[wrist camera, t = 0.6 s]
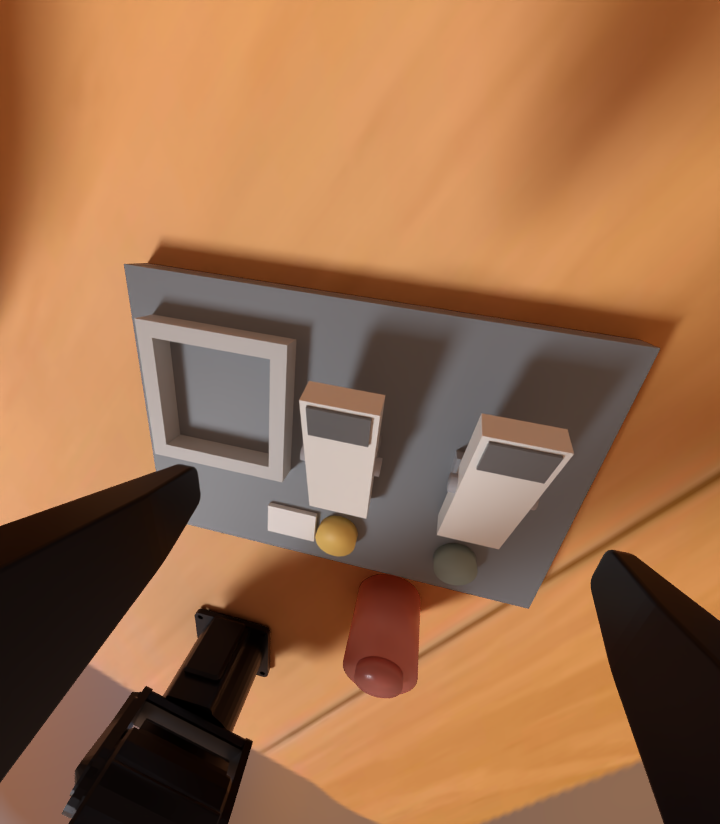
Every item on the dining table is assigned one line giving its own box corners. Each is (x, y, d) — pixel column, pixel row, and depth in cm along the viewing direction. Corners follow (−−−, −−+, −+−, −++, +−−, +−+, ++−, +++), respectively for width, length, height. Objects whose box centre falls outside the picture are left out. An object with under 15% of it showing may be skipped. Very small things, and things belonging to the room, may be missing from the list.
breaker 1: (375, 500, 20) (371, 522, 19) (311, 486, 20) (303, 506, 19) (392, 396, 14) (387, 420, 13) (301, 379, 14) (290, 401, 14)
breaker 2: (503, 529, 19) (504, 553, 18) (432, 513, 19) (430, 536, 18) (575, 430, 13) (583, 458, 12) (473, 411, 14) (474, 437, 13)
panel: (522, 587, 22) (533, 627, 20) (177, 504, 25) (150, 530, 23) (640, 340, 15) (679, 356, 13) (146, 263, 18) (102, 264, 16)
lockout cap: (413, 624, 26) (409, 714, 21) (355, 609, 26) (336, 693, 21) (426, 583, 24) (424, 671, 19) (362, 567, 24) (344, 649, 19)
